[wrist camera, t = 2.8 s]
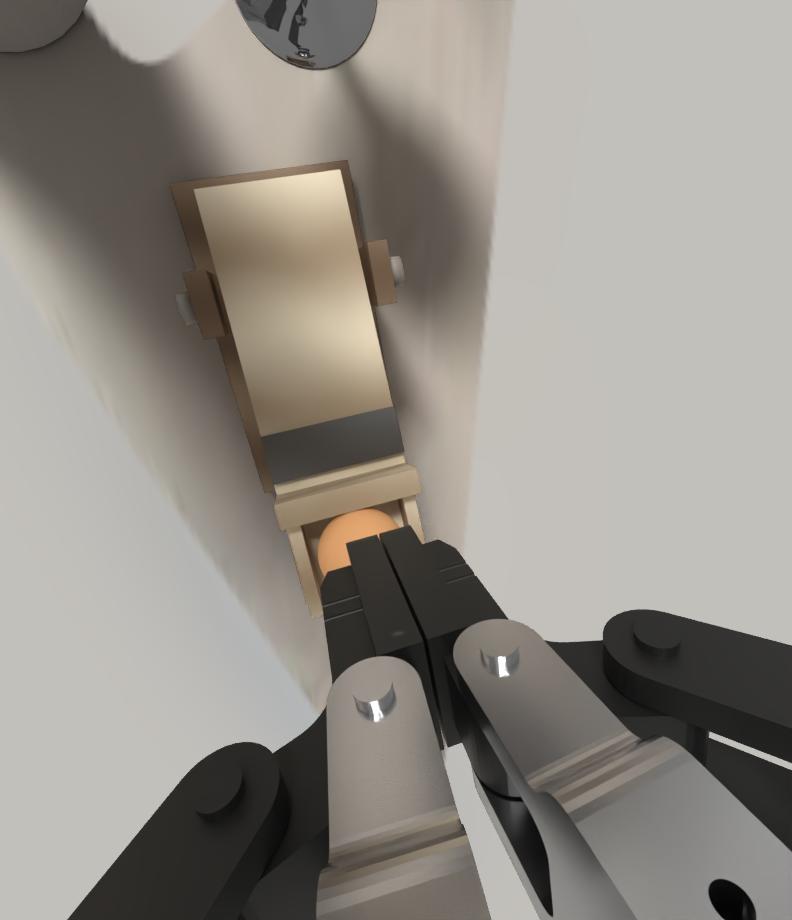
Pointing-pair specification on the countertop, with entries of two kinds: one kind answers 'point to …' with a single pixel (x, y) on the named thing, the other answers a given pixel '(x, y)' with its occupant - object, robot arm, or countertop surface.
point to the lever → (309, 357)
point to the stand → (207, 298)
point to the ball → (349, 535)
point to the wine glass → (310, 28)
